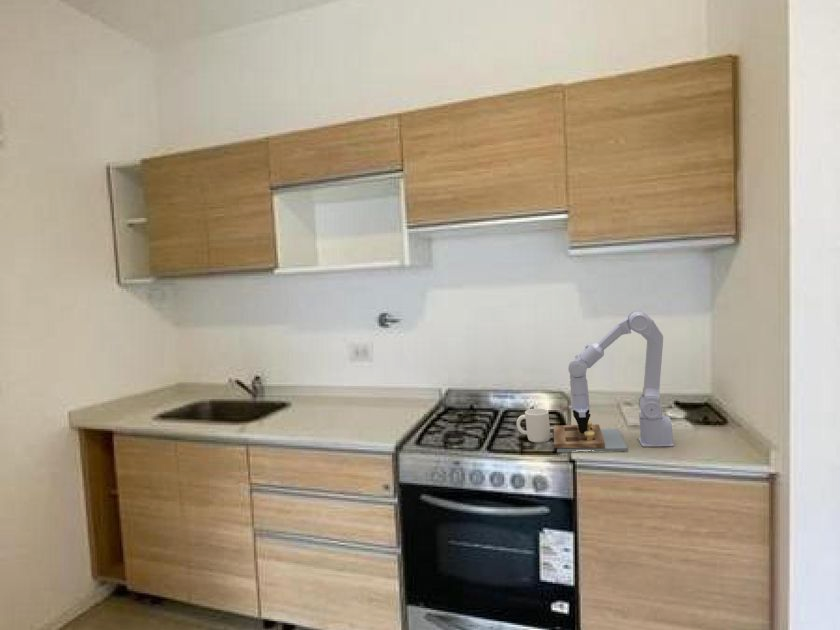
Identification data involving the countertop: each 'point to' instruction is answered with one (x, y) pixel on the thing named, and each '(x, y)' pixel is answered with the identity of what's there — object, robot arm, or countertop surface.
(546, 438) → the mug
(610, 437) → the boss board
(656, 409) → the robot arm
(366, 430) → the countertop surface
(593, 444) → the panel
